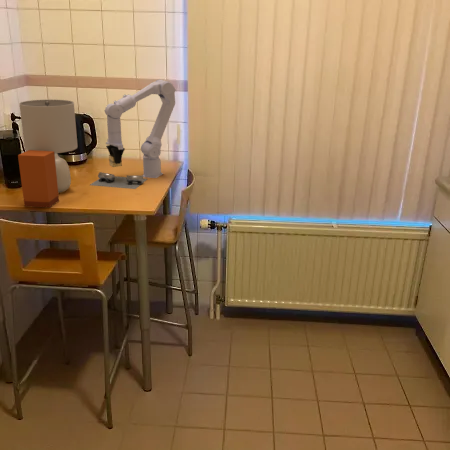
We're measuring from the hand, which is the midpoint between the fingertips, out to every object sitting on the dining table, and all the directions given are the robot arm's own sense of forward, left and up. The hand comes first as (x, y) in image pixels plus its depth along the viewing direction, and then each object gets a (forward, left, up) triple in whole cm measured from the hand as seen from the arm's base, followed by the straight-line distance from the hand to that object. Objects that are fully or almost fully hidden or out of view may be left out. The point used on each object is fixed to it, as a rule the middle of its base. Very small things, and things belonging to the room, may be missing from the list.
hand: (116, 162), depth 221 cm
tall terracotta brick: (+37, -15, -9) cm, 41 cm away
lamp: (+21, -18, -9) cm, 29 cm away
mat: (+4, +3, -8) cm, 10 cm away
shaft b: (+4, +10, -8) cm, 14 cm away
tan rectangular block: (0, 0, -1) cm, 1 cm away
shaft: (+4, -3, -8) cm, 10 cm away
